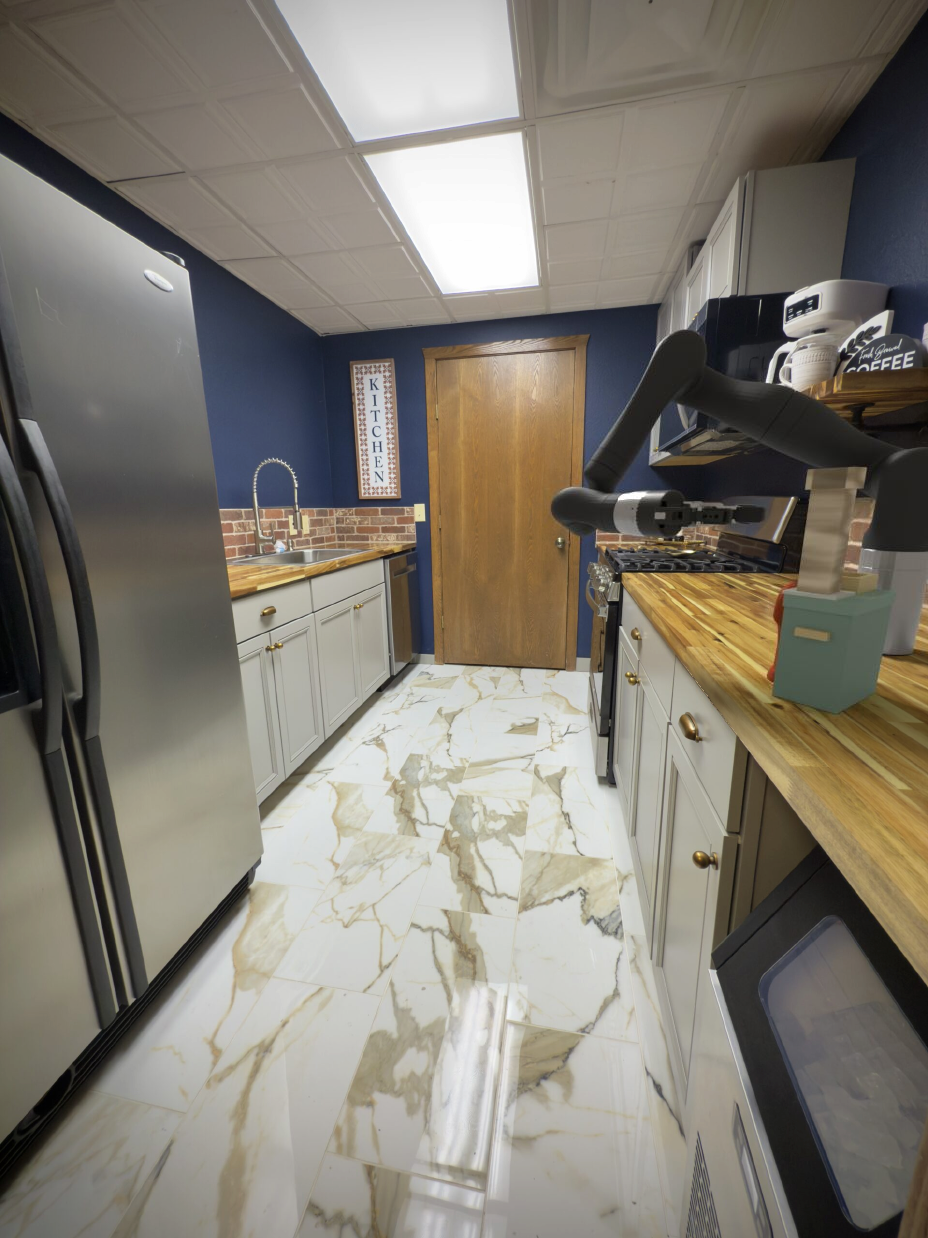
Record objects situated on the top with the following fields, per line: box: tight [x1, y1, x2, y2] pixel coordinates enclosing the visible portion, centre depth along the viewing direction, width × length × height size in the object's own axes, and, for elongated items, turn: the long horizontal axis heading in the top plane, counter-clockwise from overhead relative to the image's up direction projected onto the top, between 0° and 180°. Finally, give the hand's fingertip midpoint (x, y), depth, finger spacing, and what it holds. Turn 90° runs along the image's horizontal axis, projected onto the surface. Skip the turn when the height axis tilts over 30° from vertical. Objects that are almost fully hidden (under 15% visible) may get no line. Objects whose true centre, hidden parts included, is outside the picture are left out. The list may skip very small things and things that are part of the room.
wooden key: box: [797, 467, 867, 595], centre depth 61 cm, size 4×5×15 cm
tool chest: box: [771, 570, 896, 715], centre depth 65 cm, size 14×8×16 cm, turn 123°
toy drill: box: [766, 580, 798, 684], centre depth 75 cm, size 5×19×15 cm, turn 142°
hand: (748, 515), depth 68 cm, fingers open, 8 cm apart
